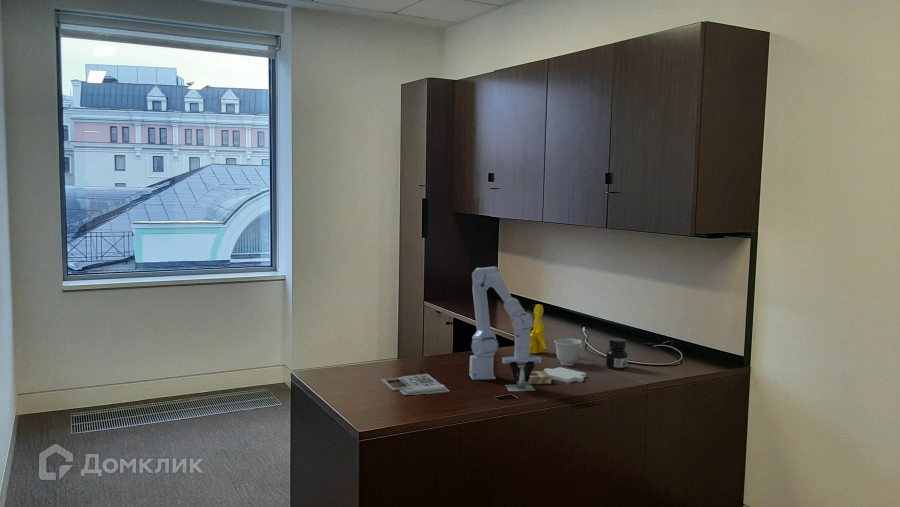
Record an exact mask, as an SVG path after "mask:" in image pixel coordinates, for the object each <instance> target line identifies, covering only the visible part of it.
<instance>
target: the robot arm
mask: <svg viewBox="0 0 900 507" xmlns="http://www.w3.org/2000/svg"><path fill="white" fill-rule="evenodd" d="M502 277H503V274H502V272H501V271H500V269H499V267H497V266H486V267H476V268H475V269H474V270H473V272H472V273H471V280H472V288H471V289H472V297H473V298H472V299H473V308H474V316H475V327H476V332H474V334H473V335H472V337H471V339H472V341H471V350H472V353H473V355H470V356H469V371H468V372H469V373H468V375H469V376H470V378H471V379H472V380H497V377H496V376H495V375H494V362H495V360H494V356H495V355H496V352H498V349H499V342H498V340H497V337H496V334H495V333H494V332H493V331H492V330H491V322H490V313H489V312H490V311H489V304H488V294H487V293H488V292H487V291H488V289H489V288H493V289H494V290H495V292H496V293H497V295H499V297H500V298H501V300H502V302H504V303H503V308H504V309H505V311H506V313H507V314H508V316H509V318H511V320H512V321H511V326H512V329H513V334H514V353H513V354H514V355H513V356H507V357H506V356H504V357H502V362H501V363H502V364H504V365H505V364H509V367H510V369H511V372H512V376H513V382H514V383H517V372H518V366H519V365H518V364H524V366H525V367H526V373H525V381H526V382H528V381H529V377H530V374H531V372H532V371H534V368H535V366H536V365H535V363H538V364H541V363H542V357H541V356H532V355H531V353H530V328H532V327H533V325H534V318H533V316H532V314H531V313H528V312H527V311H526V310H524V308H523V307H522V305H521V303H520V301H519V300H518V299H517V298H515V297H512V295H511V293H510V291H509V289H508V287H507V286H506V284H505V283H504V281H503V278H502ZM530 355H531V356H530Z"/></svg>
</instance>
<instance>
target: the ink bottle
mask: <svg viewBox="0 0 900 507" xmlns="http://www.w3.org/2000/svg"><path fill="white" fill-rule="evenodd" d="M626 343H627V340H626V339H624V338H619V337H613V338H609V340H608V348H609V349H608V350H606V352H605V367H606V368H608V369H610V370H617V371H621V370H626V369H627V368H628V358H629V356H628V355H629V354H628V352H627V350H625V349H626V345H627V344H626Z"/></svg>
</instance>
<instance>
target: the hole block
mask: <svg viewBox="0 0 900 507" xmlns="http://www.w3.org/2000/svg"><path fill="white" fill-rule="evenodd" d="M525 384H530V385H542V384H543V385H544V384H545V385H548V384H552V378H551V376H550V375H549V374H548V373H547V372H546V371H544V370H539V371H538V370H535V371H534V370H532V372H531V374H530V377H529V381H528V382H526V381H525Z"/></svg>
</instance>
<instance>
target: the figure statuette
mask: <svg viewBox="0 0 900 507" xmlns="http://www.w3.org/2000/svg"><path fill="white" fill-rule="evenodd" d="M543 314H544V307H543V304H535V306H534V308H533V315H534V318H533V320H534V325H533V327H532V328H530V354H540V353H543V352H544V350H545V351H547V350H548V348H547V345H546V342H545V339H544V333H545V325H544V322H543V320H542V317H543Z"/></svg>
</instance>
